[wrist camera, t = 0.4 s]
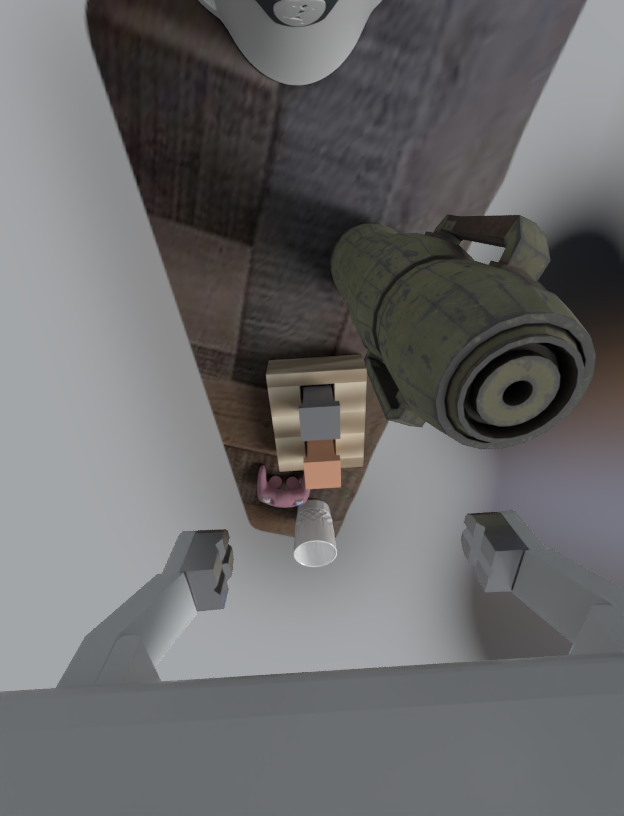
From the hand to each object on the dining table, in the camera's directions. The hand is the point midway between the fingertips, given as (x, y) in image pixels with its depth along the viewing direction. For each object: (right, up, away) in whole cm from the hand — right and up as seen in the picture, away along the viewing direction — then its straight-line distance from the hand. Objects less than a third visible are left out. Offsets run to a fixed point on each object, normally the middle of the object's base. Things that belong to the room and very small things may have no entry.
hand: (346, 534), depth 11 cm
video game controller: (-6, -8, +51) cm, 52 cm away
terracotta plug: (0, -2, +41) cm, 41 cm away
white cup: (-1, -17, +56) cm, 58 cm away
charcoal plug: (0, +6, +36) cm, 37 cm away
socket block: (0, +4, +42) cm, 43 cm away
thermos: (+6, +24, +31) cm, 39 cm away
